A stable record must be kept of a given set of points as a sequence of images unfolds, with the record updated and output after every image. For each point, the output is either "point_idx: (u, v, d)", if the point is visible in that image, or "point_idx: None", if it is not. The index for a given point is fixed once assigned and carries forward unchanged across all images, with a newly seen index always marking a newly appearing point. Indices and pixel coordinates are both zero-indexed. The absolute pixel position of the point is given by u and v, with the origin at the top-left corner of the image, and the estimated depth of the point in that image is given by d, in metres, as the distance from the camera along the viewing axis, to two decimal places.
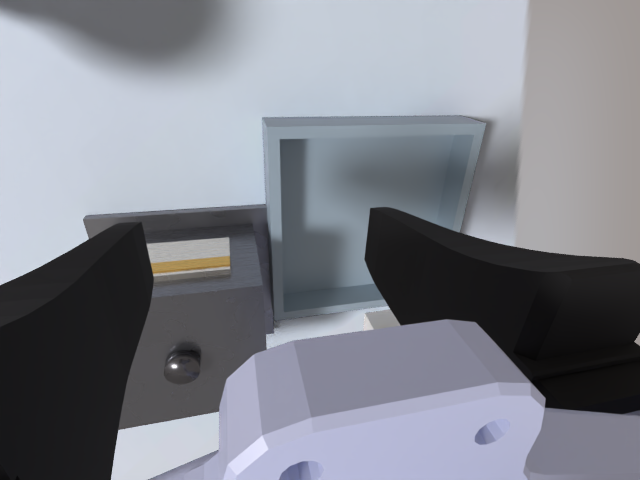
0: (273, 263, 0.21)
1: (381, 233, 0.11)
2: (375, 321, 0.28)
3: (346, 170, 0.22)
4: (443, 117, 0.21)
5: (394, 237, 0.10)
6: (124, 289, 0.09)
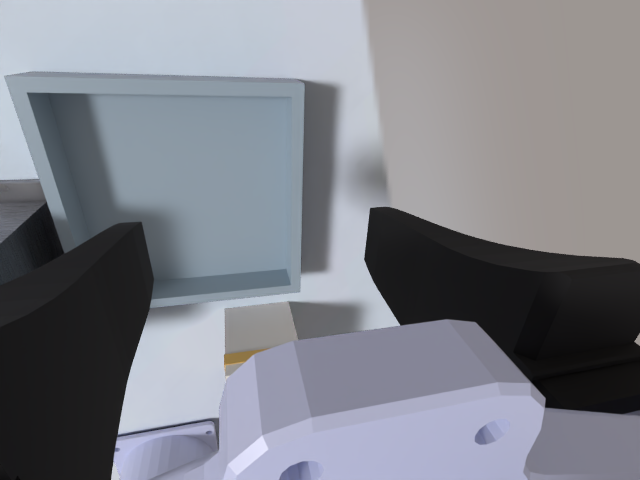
0: (63, 246, 0.18)
1: (381, 233, 0.11)
2: (231, 318, 0.24)
3: (154, 139, 0.18)
4: (267, 79, 0.18)
5: (394, 237, 0.10)
6: (124, 289, 0.09)
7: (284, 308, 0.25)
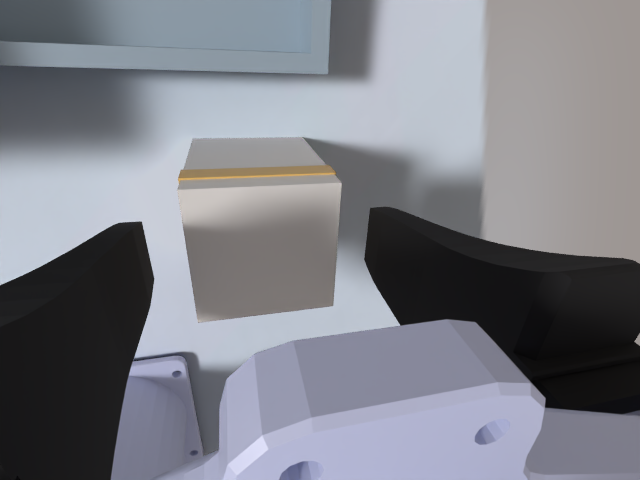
0: None
1: (381, 233, 0.11)
2: (203, 145, 0.14)
3: None
4: None
5: (394, 237, 0.10)
6: (124, 289, 0.09)
7: (295, 141, 0.15)
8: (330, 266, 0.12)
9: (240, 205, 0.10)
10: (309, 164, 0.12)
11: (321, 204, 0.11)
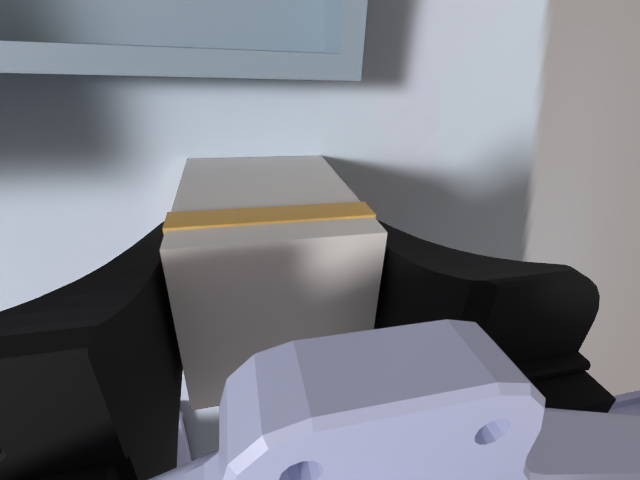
0: None
1: None
2: (200, 169, 0.11)
3: None
4: None
5: None
6: None
7: (314, 162, 0.12)
8: None
9: (249, 266, 0.07)
10: (338, 200, 0.09)
11: (358, 260, 0.08)
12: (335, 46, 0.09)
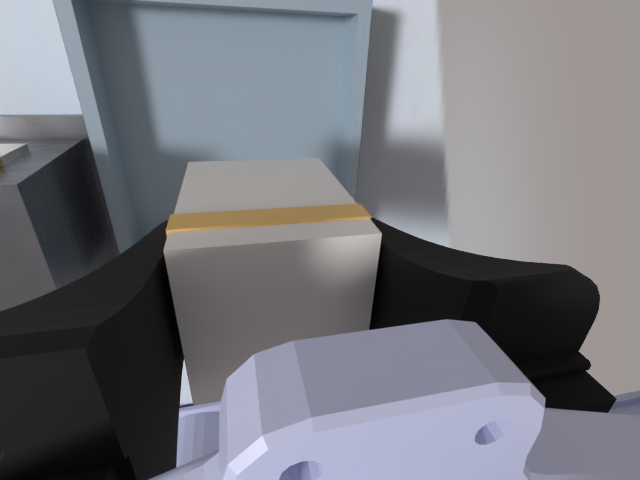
0: (103, 186, 0.16)
1: None
2: (201, 172, 0.11)
3: (201, 68, 0.17)
4: None
5: None
6: None
7: (312, 164, 0.12)
8: None
9: (248, 266, 0.08)
10: (334, 202, 0.09)
11: (354, 260, 0.08)
12: None
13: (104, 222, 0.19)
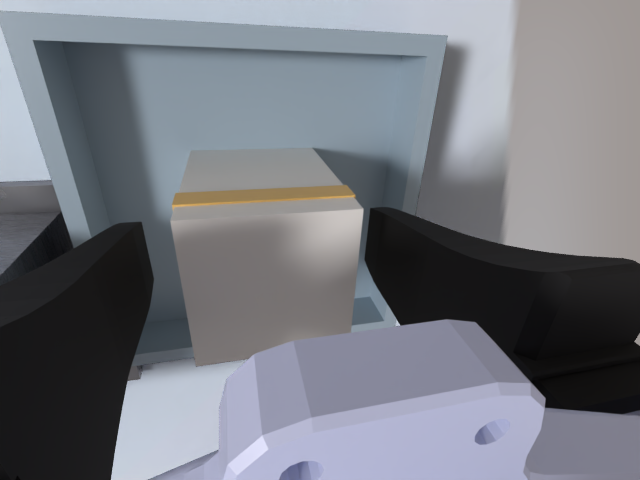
0: None
1: (381, 233, 0.11)
2: (202, 159, 0.12)
3: (215, 122, 0.13)
4: None
5: (394, 237, 0.10)
6: (123, 289, 0.09)
7: (305, 153, 0.13)
8: (347, 301, 0.10)
9: (245, 237, 0.09)
10: (323, 184, 0.10)
11: (339, 233, 0.09)
12: (380, 311, 0.17)
13: None
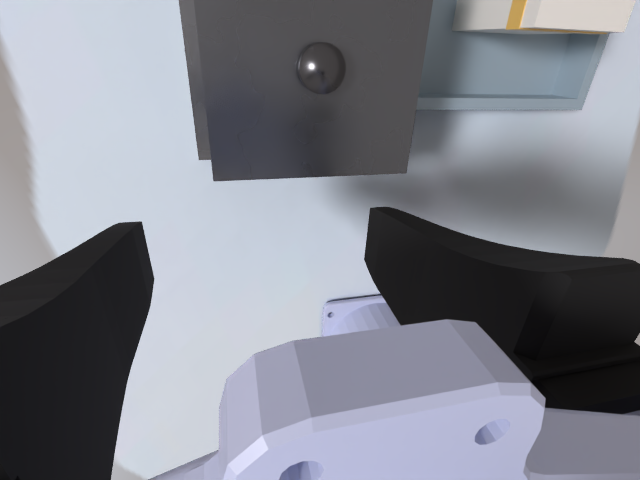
0: None
1: (381, 233, 0.11)
2: None
3: None
4: None
5: (394, 237, 0.10)
6: (123, 289, 0.09)
7: None
8: None
9: None
10: None
11: None
12: (570, 94, 0.21)
13: None
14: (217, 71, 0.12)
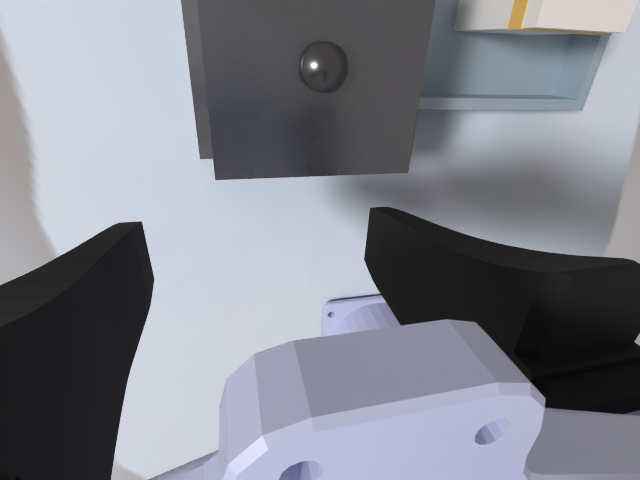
0: None
1: (381, 233, 0.11)
2: None
3: None
4: None
5: (394, 237, 0.10)
6: (124, 289, 0.09)
7: None
8: None
9: None
10: None
11: None
12: (571, 95, 0.21)
13: None
14: (220, 70, 0.12)
